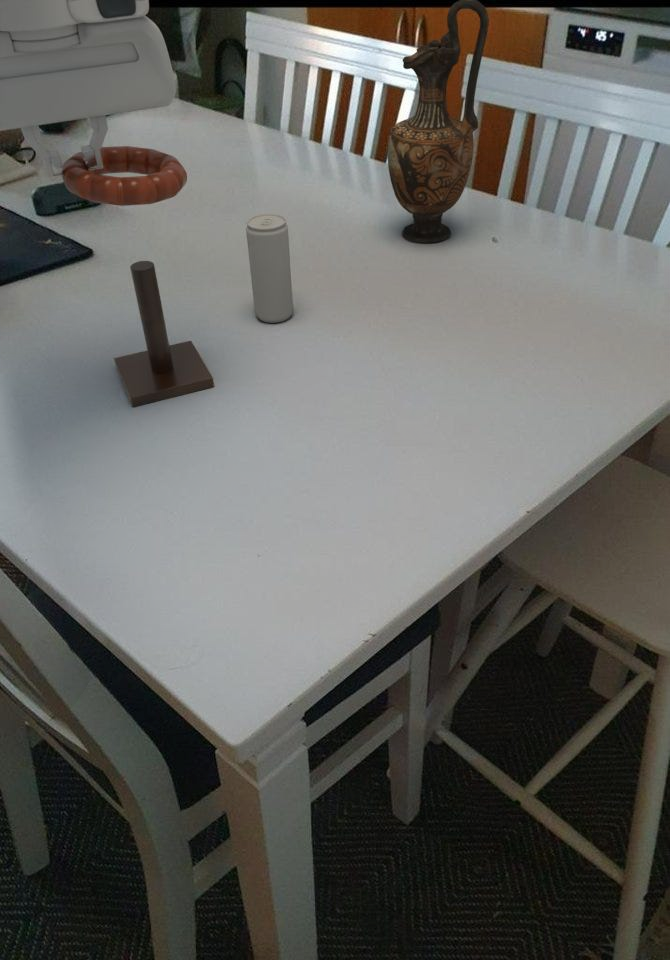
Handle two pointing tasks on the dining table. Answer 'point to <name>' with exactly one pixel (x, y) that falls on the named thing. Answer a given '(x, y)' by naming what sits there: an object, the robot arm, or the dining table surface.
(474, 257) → the dining table surface
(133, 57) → the robot arm
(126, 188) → the ring
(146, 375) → the post
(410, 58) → the vase
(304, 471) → the dining table surface
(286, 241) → the beverage can
